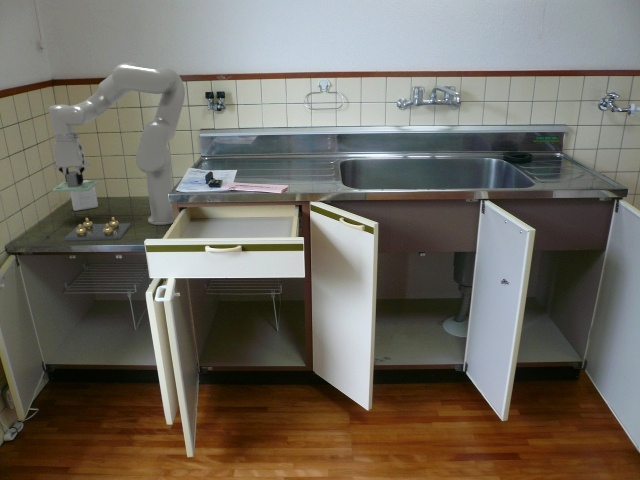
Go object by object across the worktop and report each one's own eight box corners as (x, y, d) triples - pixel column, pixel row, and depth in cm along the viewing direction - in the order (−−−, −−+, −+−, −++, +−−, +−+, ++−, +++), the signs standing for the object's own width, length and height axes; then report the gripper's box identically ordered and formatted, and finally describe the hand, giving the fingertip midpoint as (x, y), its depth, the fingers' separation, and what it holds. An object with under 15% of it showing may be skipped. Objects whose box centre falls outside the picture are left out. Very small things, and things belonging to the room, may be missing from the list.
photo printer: (97, 204, 236) (92, 178, 231) (99, 207, 233) (94, 180, 228) (72, 209, 231) (67, 181, 226) (74, 212, 227) (68, 184, 223)
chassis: (130, 226, 210) (128, 214, 208) (119, 239, 197) (117, 226, 196) (79, 227, 210) (77, 215, 208) (65, 240, 197) (62, 228, 195)
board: (98, 183, 217) (95, 168, 215) (89, 190, 207) (86, 175, 204) (64, 184, 217) (60, 170, 214) (52, 192, 206) (49, 177, 204)
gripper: (90, 135, 208) (99, 180, 215) (48, 136, 207) (58, 181, 214) (83, 138, 201) (93, 185, 208) (39, 140, 200) (50, 187, 207)
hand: (75, 183), depth 211 cm, fingers closed on board, 3 cm apart
